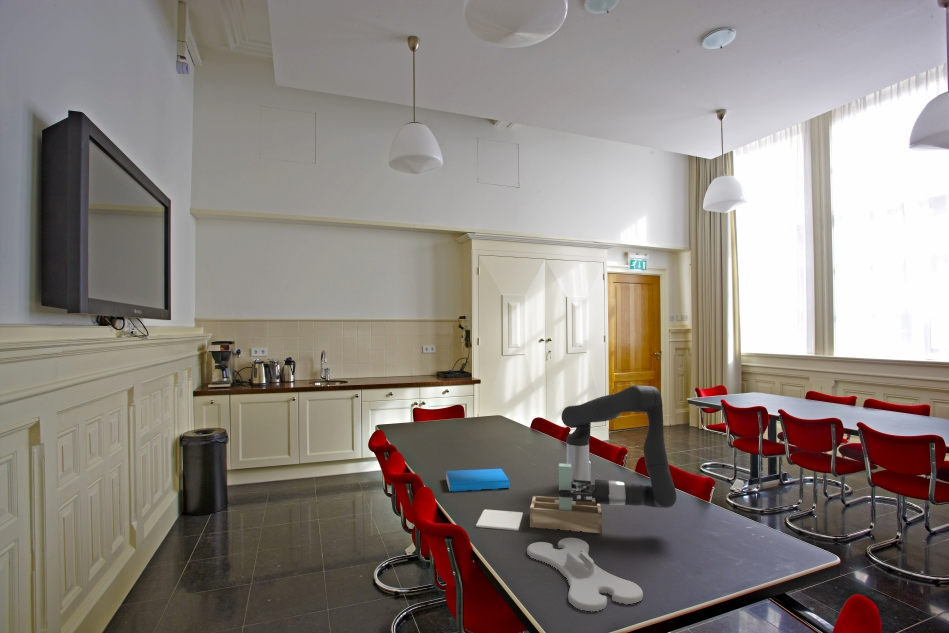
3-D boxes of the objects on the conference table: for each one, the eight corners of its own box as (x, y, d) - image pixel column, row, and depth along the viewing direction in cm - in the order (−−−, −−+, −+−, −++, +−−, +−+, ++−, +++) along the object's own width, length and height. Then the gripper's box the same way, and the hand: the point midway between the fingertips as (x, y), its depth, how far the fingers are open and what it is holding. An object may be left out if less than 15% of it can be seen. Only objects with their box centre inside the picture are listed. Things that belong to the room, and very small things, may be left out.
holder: (580, 617, 106) (579, 594, 106) (522, 550, 138) (522, 533, 139) (651, 603, 111) (650, 581, 111) (579, 541, 144) (579, 525, 144)
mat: (484, 511, 168) (484, 509, 168) (522, 514, 165) (522, 512, 165) (476, 526, 154) (476, 525, 154) (518, 530, 151) (518, 528, 151)
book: (445, 471, 205) (501, 467, 208) (445, 481, 204) (501, 477, 208) (449, 483, 188) (509, 479, 192) (449, 494, 188) (510, 490, 191)
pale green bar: (559, 523, 157) (559, 463, 158) (571, 524, 156) (571, 464, 157) (559, 527, 153) (558, 466, 154) (571, 528, 153) (571, 466, 153)
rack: (533, 512, 166) (533, 495, 166) (599, 518, 161) (599, 500, 161) (529, 527, 154) (529, 508, 154) (601, 533, 149) (601, 514, 149)
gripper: (608, 474, 159) (560, 471, 163) (611, 487, 145) (558, 484, 149) (608, 496, 159) (560, 493, 162) (611, 512, 145) (558, 508, 148)
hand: (559, 488), depth 155 cm, fingers open, 8 cm apart
